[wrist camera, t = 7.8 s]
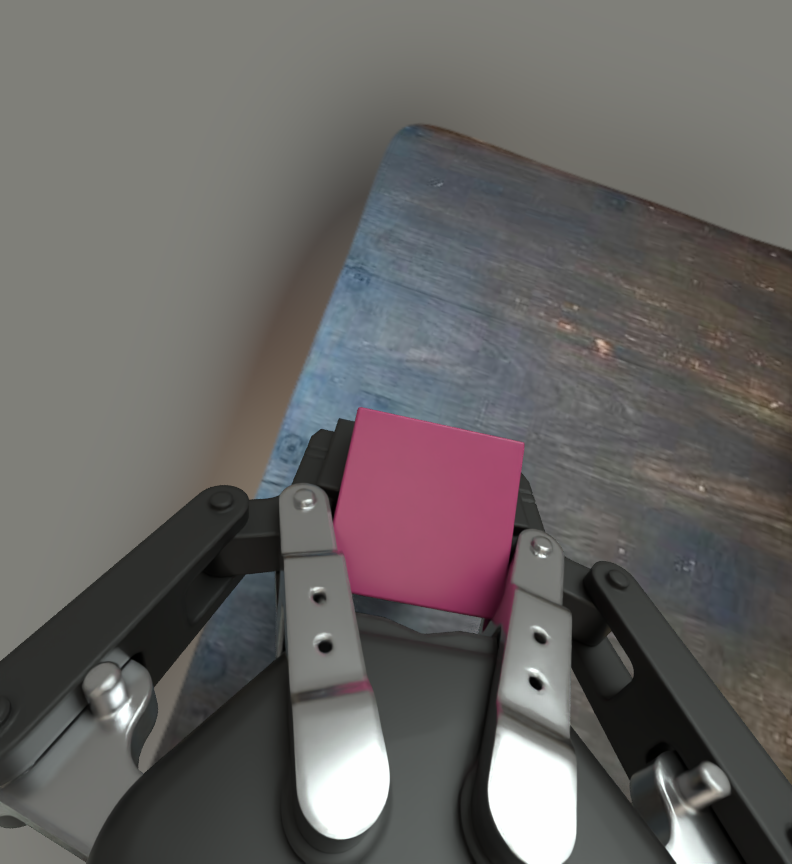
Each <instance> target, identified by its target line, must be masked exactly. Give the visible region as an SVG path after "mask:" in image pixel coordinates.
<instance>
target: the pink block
mask: <svg viewBox="0 0 792 864" xmlns="http://www.w3.org/2000/svg"><path fill="white" fill-rule="evenodd" d="M523 453H524V443H523V442H519V441H515V440H510V439H505V438H501V437H496V436H492V435H487V434H482V433H478V432H473V431H468V430H464V429H459V428H455V427H450V426H445V425H441V424H436V423H432V422H427V421H422V420H418V419H413V418H409V417H404V416H399V415H395V414H390V413H386V412H381V411H376V410H372V409H367V408H363V407H360V408H358V410H357V415H356V419H355V424H354V428H353V433H352V437H351V442H350V446H349V451H348V455H347V460H346V464H345V469H344V473H343V478H342V482H341V487H340V491H339V496H338V500H337V505H336V509H335V514H334V518H333V527H334V533H335V538H336V544H337V549H338V551H343V553H344V556H345V561H346V566H347V572H348V577H349V582H350V588H351V593H352V594H356V595H361V596H366V597H372V598H377V599H383V600H388V601H393V602H399V603H404V604H409V605H415V606H420V607H426V608H431V609H436V610H442V611H447V612H453V613H458V614H463V615H469V616H474V617H480V618H485V619H490V620H491V619H492V618H493V616H494V614H495V613H496V611H497V609H498V608H499V605H500V603H501V600H502V597H503V594H504V589H505V584H506V579H507V573H508V566H509V558H510V550H511V543H512V535H513V528H514V520H515V513H516V505H517V498H518V490H519V483H520V475H521V468H522V460H523Z"/></svg>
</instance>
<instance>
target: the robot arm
mask: <svg viewBox="0 0 792 864" xmlns="http://www.w3.org/2000/svg"><path fill="white" fill-rule="evenodd" d="M354 424H355V422H354V421H350V420H345V419H340V418H339V420H338V423H337V426H336V429H335V432H333V431H328V430H324V429H320V430H319V431H318V432H316V433H315V434H314V435H313V436H311V439H310V441H309V444H308V447H307V449H306V451H305V453H304V456H303V458H302V461H301V463H300V466H299V468H298V470H297V473H296V475H295V478H294V480H293V483H292V485H291V486H289V487H287V488H286V489H284V490H283V491H282V493H281V494H280V495H279V496H276V497H273V498H268V499H252V500H249V498H248V496H247V494H246V493H245V492H244V491H243V490H241V489H239V488H237V487H234V486H228V485H220V486H214V487H210V488H208V489H206V490H204V491H202V492H201V493H199V494H198V495H197V496H196V497H195V498H194V499H192V500H191V501H190V502H189V503H188V504H186V506H184V507H183V508H182V509H180V510H179V511H178V512H177V513H176V514H174V515H173V516H172V517H171V518H170V519H169V520H167V521H166V522H165V523H164V524H163V525H161V526H160V527H159V528H158V529H157V530H156V531H154V532H153V533H152V534H151V535H150V536H148V537H147V538H146V539H145V540H144V541H142V542H141V543H140V544H139V545H138V546H137V547H135V548H134V549H133V550H132V551H131V552H129V553H128V554H127V555H126V556H125V557H124V558H122V559H121V560H120V561H119V562H118V563H116V564H115V565H114V566H113V567H112V568H110V569H109V570H108V571H107V572H106V573H104V574H103V575H102V576H101V577H100V578H99V579H97V580H96V581H95V582H94V583H93V584H91V585H90V586H89V587H88V588H87V589H86V590H84V591H83V592H82V593H81V594H80V595H78V596H77V597H76V598H75V599H74V600H73V601H71V602H70V603H69V604H68V605H67V606H65V607H64V608H63V609H62V610H61V611H59V612H58V613H57V614H56V615H55V616H53V617H52V618H51V619H50V620H49V621H48V622H46V623H45V624H44V625H43V626H42V627H40V628H39V629H38V630H37V631H36V632H35V633H34V634H32V635H31V636H30V637H29V638H27V639H26V640H25V641H24V642H23V643H21V644H20V645H19V646H18V647H17V648H15V649H14V650H13V651H12V652H11V653H10V654H8V655H7V656H6V657H5V658H4V659H2V660H1V661H0V826H1V827H4V828H17V827H22V826H26V825H28V826H30V827H31V828H33V829H34V830H36V831H38V832H39V833H41V834H42V835H44V836H45V837H47V838H49V839H50V840H52V841H54V842H55V843H57V844H58V845H60V846H61V847H63V848H64V849H66V850H68V851H69V852H71V853H72V854H74V855H75V856H77V857H79V858H80V859H82V860H83V861H85V862H86V864H792V785H791V784H790V783H789V781H788V780H787V779H786V777H785V776H784V775H783V773H782V772H781V771H780V769H779V768H778V767H777V765H776V764H775V763H774V761H773V760H772V759H771V757H770V756H769V755H768V754H767V752H766V751H765V750H764V748H763V747H762V746H761V744H760V743H759V742H758V740H757V739H756V738H755V736H754V735H753V734H752V732H751V731H750V730H749V729H748V727H747V726H746V725H745V723H744V722H743V721H742V719H741V718H740V717H739V715H738V714H737V713H736V711H735V710H734V709H733V707H732V706H731V705H730V704H729V702H728V701H727V700H726V698H725V697H724V696H723V694H722V693H721V692H720V690H719V689H718V688H717V686H716V685H715V684H714V682H713V681H712V680H711V679H710V677H709V676H708V675H707V673H706V672H705V671H704V669H703V668H702V667H701V665H700V664H699V663H698V661H697V660H696V659H695V657H694V656H693V655H692V654H691V652H690V651H689V650H688V648H687V647H686V646H685V644H684V643H683V642H682V640H681V639H680V638H679V636H678V635H677V634H676V632H675V631H674V630H673V628H672V627H671V626H670V625H669V623H668V622H667V621H666V619H665V618H664V617H663V615H662V614H661V613H660V611H659V610H658V609H657V607H656V606H655V605H654V603H653V602H652V601H651V600H650V598H649V597H648V596H647V594H646V593H645V592H644V590H643V589H642V588H641V586H640V585H639V584H638V582H637V581H636V580H635V579H634V577H633V576H632V575H631V574H630V573H628V572H627V571H626V570H625V569H623V568H622V567H620V566H618V565H616V564H614V563H611V562H607V561H599V562H596V563H595V564H594V565H593V567H592V568H591V569H589V568H587V567H585V566H583V565H581V564H579V563H576V562H574V561H572V560H570V559H568V558H566V557H565V556H564V551H563V549H562V547H561V546H560V544H559V543H558V542H557V541H556V540H555V539H554V538H553V537H551V536H550V535H549V534H547V533H545V530H544V527H543V524H542V521H541V518H540V515H539V512H538V508H537V505H536V504H535V499H534V496H533V495H532V490H531V487H530V484H529V481H528V480H527V479H526V478H525V476H524V475H523V474H522V473H521V475H520V483H519V490H518V498H517V505H516V513H515V520H514V528H513V535H512V543H511V550H510V558H509V566H508V573H507V579H506V584H505V589H504V594H503V597H502V600H501V603H500V605H499V608H498V609H497V611H496V613H495V614H494V616H493V618H492V619H491V620H490V619H485V618H482V619H481V623H480V627H479V632H478V634H474V633H468V632H463V631H455V632H444V633H432V634H422V633H419V632H416V631H414V630H412V629H410V628H407V627H405V626H403V625H401V624H399V623H396V622H394V621H392V620H390V619H387V618H385V617H380V616H375V615H369V614H364V613H358V612H355V609H354V604H353V598H352V593H351V588H350V582H349V577H348V572H347V566H346V561H345V556H344V553H343V551H338V549H337V544H336V538H335V533H334V527H333V518H334V514H335V509H336V505H337V500H338V496H339V491H340V487H341V482H342V478H343V473H344V469H345V464H346V460H347V455H348V451H349V446H350V442H351V437H352V433H353V428H354ZM272 571H275V603H276V635H275V653H276V659H275V660H274V661H273V662H272V663H271V664H270V665H269V666H267V667H266V668H265V669H264V670H263V671H262V672H260V673H259V674H258V675H257V676H256V677H255V678H254V679H252V680H251V681H250V682H249V683H248V684H247V685H245V686H244V687H243V688H242V689H241V690H240V691H239V692H237V693H236V694H235V695H234V696H233V697H232V698H230V699H229V700H228V701H227V702H226V703H225V704H224V705H222V706H221V707H220V708H219V709H218V710H217V711H215V712H214V713H213V714H212V715H211V716H210V717H209V718H207V719H206V720H205V721H204V722H203V723H202V724H200V725H199V726H198V727H197V728H196V729H195V730H194V731H192V732H191V733H190V734H189V735H188V736H187V737H185V738H184V739H183V740H182V741H181V742H180V743H179V744H177V745H176V746H175V747H174V748H173V749H172V750H170V751H169V752H168V753H167V754H166V755H165V756H164V757H162V758H161V759H160V760H159V761H158V762H157V763H155V764H154V765H153V766H152V767H151V768H150V769H149V770H147V771H146V772H145V773H144V774H143V773H142V772H141V771H139V770H138V763H139V756H140V753H141V749H142V747H143V745H144V743H145V741H146V739H147V737H148V736H149V734H150V733H151V731H152V729H153V727H154V725H155V722H156V719H157V714H158V703H157V699H156V695H155V691H154V687H155V686H156V684H157V683H158V681H160V679H161V678H162V677H163V676H164V674H165V673H166V672H167V671H168V669H169V668H170V667H171V666H172V665H173V663H174V662H175V661H176V660H177V658H178V657H179V656H180V655H181V653H182V652H183V651H184V650H185V649H186V647H187V646H188V645H189V644H190V642H191V641H192V640H193V639H194V637H195V636H196V635H197V634H198V633H199V631H200V630H201V629H202V628H203V626H204V625H205V624H206V623H207V621H208V620H209V619H210V618H211V617H212V615H213V614H214V613H215V612H216V610H217V609H218V608H219V607H220V605H221V604H222V603H223V602H224V601H225V599H226V598H227V597H228V596H229V594H230V593H231V592H232V591H233V589H234V588H235V587H236V586H237V585H238V583H239V582H240V581H241V580H242V578H243V577H244V576H245V574H254V573H263V572H272ZM611 631H612V632H613V634H614V635H615V637H616V638H617V640H618V642H619V643H620V645H621V646H622V648H623V649H624V651H625V653H626V654H627V656H628V657H629V659H630V661H631V663H632V665H633V669H634V677H633V678H632V677H631V675H630V674H629V672H628V670H627V669H626V667H625V665H624V664H623V662H622V661H621V659H620V657H619V656H618V654H617V653H616V651H615V649H614V648H613V646H612V644H611V643H610V641H609V640H608V638H607V635H608V634H609V633H610V632H611ZM571 668H572V670H573V672H574V674H575V676H576V678H577V680H578V681H579V683H580V685H581V687H582V689H583V691H584V693H585V695H586V697H587V699H588V701H589V703H590V705H591V707H592V708H593V710H594V712H595V714H596V716H597V718H598V720H599V722H600V724H601V726H602V728H603V730H604V732H605V734H606V735H607V737H608V739H609V741H610V743H611V745H612V747H613V749H614V751H615V753H616V755H617V757H618V759H619V761H620V763H621V764H622V766H623V768H624V770H625V772H626V774H627V776H628V778H629V780H630V795H631V799H632V803H630V802H629V800H628V799H627V798H626V796H625V795H624V794H623V792H622V791H621V790H620V789H619V787H618V786H617V785H616V783H615V782H614V781H613V780H612V778H611V777H610V776H609V774H608V773H607V772H606V771H605V769H604V768H603V767H602V765H601V764H600V763H599V762H598V760H597V759H596V758H595V756H594V755H593V754H592V753H591V751H590V750H589V749H588V747H587V746H586V745H585V744H584V742H583V741H582V740H581V738H580V737H579V736H578V734H577V733H576V732H575V731H574V729H573V728H572V727H571V725H570V695H571Z"/></svg>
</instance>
